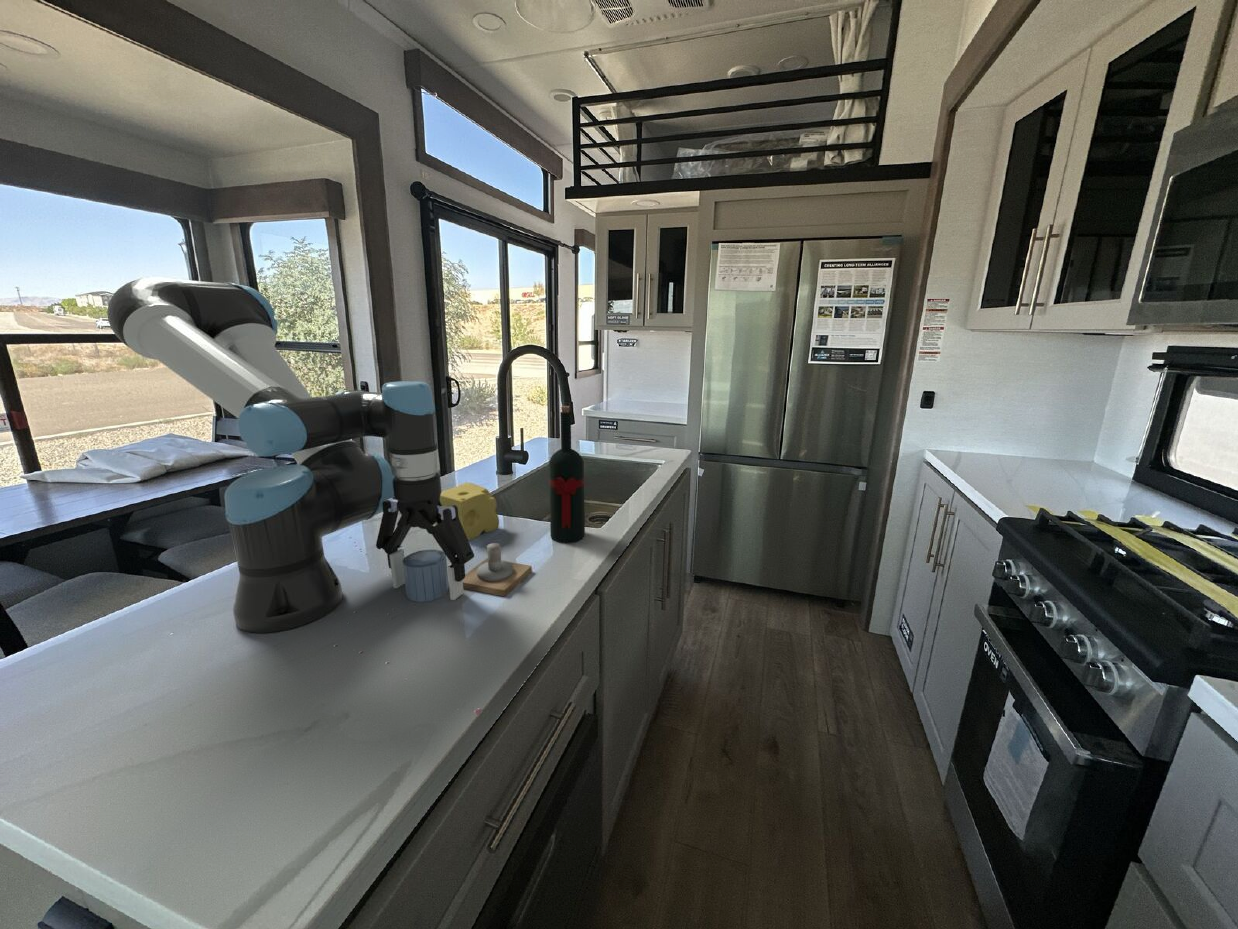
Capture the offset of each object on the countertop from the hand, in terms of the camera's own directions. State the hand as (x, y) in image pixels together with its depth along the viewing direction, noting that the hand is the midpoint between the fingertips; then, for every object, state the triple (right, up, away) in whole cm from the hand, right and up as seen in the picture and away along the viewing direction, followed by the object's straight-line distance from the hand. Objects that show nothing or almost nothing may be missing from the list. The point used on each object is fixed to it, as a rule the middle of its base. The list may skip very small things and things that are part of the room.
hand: (428, 590), depth 88 cm
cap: (0, 0, 0) cm, 0 cm away
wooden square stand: (+11, +1, +5) cm, 12 cm away
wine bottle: (+23, +6, +23) cm, 33 cm away
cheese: (-1, +7, +27) cm, 28 cm away
